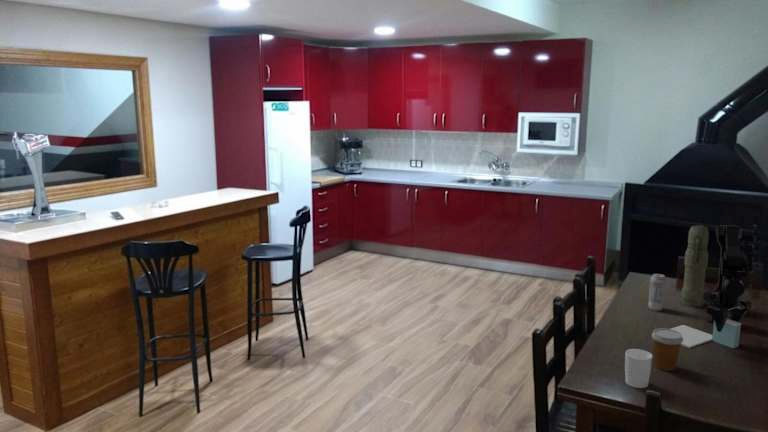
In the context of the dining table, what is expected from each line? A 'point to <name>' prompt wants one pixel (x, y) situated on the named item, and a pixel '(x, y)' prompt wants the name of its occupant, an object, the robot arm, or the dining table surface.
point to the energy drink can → (657, 292)
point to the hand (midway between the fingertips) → (726, 329)
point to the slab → (728, 334)
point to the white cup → (637, 367)
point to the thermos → (695, 266)
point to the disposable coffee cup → (666, 348)
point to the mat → (692, 336)
